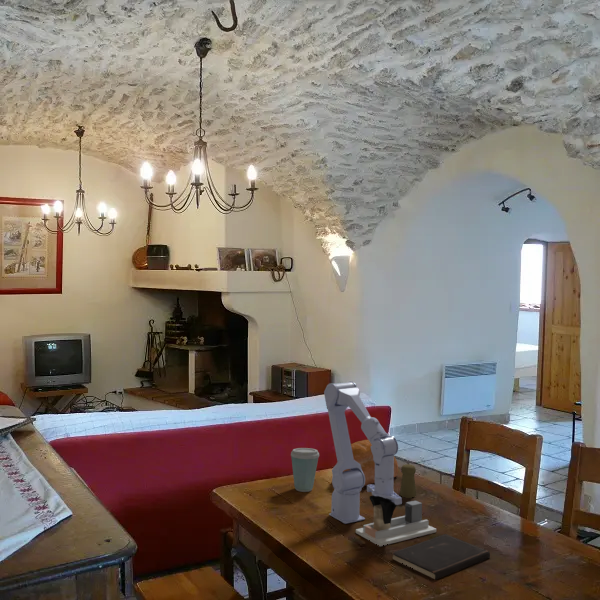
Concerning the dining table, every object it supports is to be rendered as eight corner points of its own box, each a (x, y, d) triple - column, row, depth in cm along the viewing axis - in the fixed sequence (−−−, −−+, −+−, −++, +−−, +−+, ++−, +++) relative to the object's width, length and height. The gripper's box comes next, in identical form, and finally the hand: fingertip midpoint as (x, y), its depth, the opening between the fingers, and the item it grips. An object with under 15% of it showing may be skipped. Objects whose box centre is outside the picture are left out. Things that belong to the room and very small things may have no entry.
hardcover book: (391, 560, 184) (391, 552, 184) (445, 541, 198) (445, 533, 198) (435, 582, 171) (435, 573, 171) (490, 559, 185) (490, 551, 185)
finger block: (373, 528, 200) (373, 505, 200) (385, 525, 203) (385, 503, 202) (379, 532, 198) (379, 508, 198) (391, 529, 200) (391, 506, 200)
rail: (355, 532, 202) (355, 506, 202) (410, 519, 214) (411, 495, 214) (379, 546, 192) (380, 519, 192) (436, 532, 204) (436, 506, 203)
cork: (416, 498, 234) (416, 468, 234) (399, 497, 235) (399, 466, 235) (416, 493, 240) (417, 463, 240) (400, 492, 241) (400, 462, 241)
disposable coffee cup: (288, 485, 248) (289, 445, 248) (317, 484, 249) (317, 445, 249) (291, 494, 238) (291, 453, 237) (321, 493, 239) (321, 452, 238)
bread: (330, 482, 253) (330, 442, 252) (377, 469, 270) (377, 432, 269) (355, 491, 243) (355, 450, 242) (402, 477, 260) (402, 439, 259)
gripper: (359, 472, 204) (358, 515, 204) (388, 485, 192) (388, 531, 192) (377, 469, 208) (376, 511, 208) (407, 481, 195) (406, 527, 196)
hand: (383, 521), depth 200 cm, fingers closed on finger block, 3 cm apart
